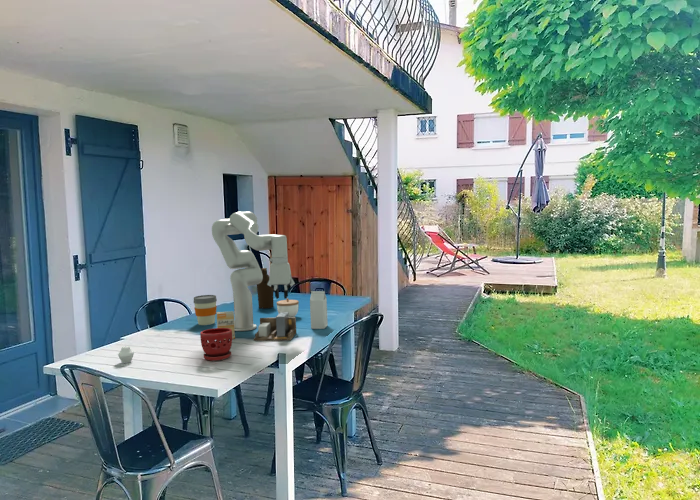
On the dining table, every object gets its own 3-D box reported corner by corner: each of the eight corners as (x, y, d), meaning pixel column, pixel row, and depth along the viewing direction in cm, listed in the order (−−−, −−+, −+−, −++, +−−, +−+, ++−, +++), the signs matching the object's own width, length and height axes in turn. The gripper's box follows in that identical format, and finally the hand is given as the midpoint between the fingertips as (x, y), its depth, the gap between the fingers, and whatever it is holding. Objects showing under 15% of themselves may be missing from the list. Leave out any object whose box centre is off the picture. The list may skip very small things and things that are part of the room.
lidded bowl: (273, 319, 290) (273, 300, 289) (282, 314, 303) (281, 296, 302) (295, 319, 287) (294, 300, 286) (302, 315, 300) (301, 296, 299)
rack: (253, 340, 245) (252, 324, 244) (261, 333, 259) (260, 317, 258) (290, 340, 243) (289, 323, 243) (296, 332, 257) (295, 317, 257)
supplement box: (217, 340, 248) (216, 313, 247) (217, 338, 253) (216, 312, 251) (235, 338, 250) (233, 312, 249) (234, 336, 255) (233, 310, 254)
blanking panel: (276, 337, 246) (275, 316, 245) (281, 332, 256) (280, 312, 255) (285, 337, 246) (284, 316, 245) (289, 332, 255) (288, 312, 255)
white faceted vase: (136, 359, 221) (135, 343, 220) (131, 364, 215) (130, 347, 214) (122, 360, 221) (121, 344, 220) (116, 364, 214) (114, 348, 214)
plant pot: (239, 356, 220) (238, 329, 219) (213, 364, 210) (211, 335, 209) (221, 351, 228) (220, 325, 227) (195, 359, 218) (193, 331, 217)
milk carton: (324, 329, 263) (322, 292, 261) (311, 329, 264) (309, 292, 263) (327, 325, 270) (326, 290, 268) (314, 325, 271) (313, 290, 270)
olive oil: (277, 306, 327) (275, 267, 325) (263, 309, 320) (261, 269, 318) (268, 304, 335) (266, 266, 333) (254, 307, 328) (252, 268, 326)
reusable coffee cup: (214, 325, 281) (213, 298, 280) (191, 326, 281) (190, 299, 280) (220, 320, 294) (218, 294, 292) (198, 321, 294) (196, 295, 292)
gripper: (261, 262, 245) (263, 300, 246) (295, 261, 243) (296, 299, 245) (265, 260, 252) (267, 297, 254) (298, 259, 250) (299, 296, 252)
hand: (281, 297), depth 249 cm, fingers open, 3 cm apart
